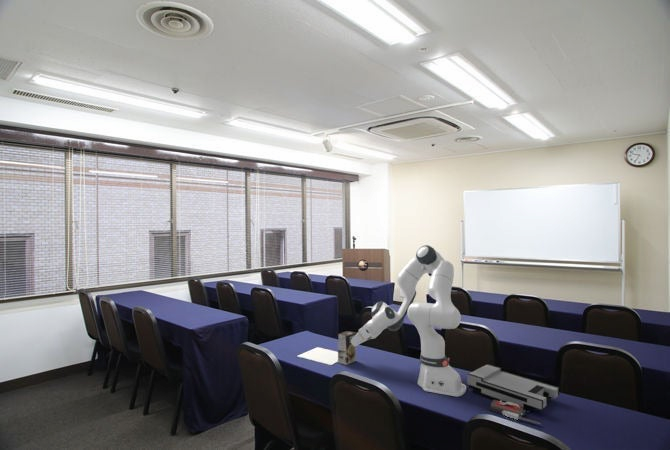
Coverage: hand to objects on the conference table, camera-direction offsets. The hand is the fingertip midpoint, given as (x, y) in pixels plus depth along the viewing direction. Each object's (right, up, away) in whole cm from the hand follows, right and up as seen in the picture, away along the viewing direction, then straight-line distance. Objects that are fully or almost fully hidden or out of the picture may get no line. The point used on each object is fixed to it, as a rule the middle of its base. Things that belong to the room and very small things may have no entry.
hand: (355, 344), depth 206 cm
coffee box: (-5, -11, +2) cm, 12 cm away
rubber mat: (-18, -10, +11) cm, 24 cm away
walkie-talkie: (+62, -11, -56) cm, 84 cm away
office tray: (+68, -11, -39) cm, 80 cm away
